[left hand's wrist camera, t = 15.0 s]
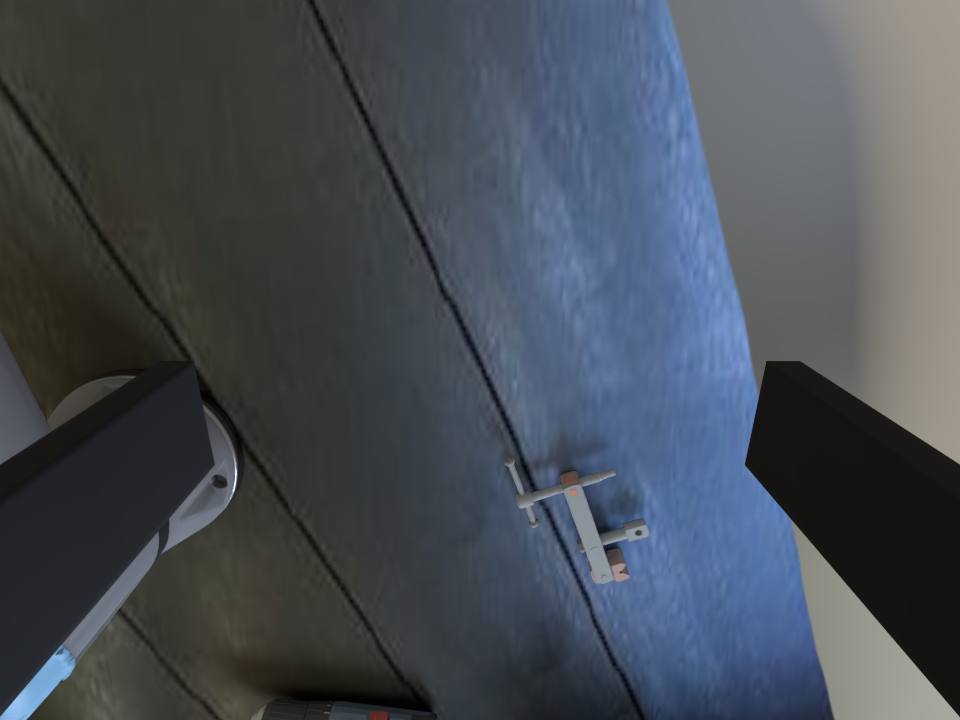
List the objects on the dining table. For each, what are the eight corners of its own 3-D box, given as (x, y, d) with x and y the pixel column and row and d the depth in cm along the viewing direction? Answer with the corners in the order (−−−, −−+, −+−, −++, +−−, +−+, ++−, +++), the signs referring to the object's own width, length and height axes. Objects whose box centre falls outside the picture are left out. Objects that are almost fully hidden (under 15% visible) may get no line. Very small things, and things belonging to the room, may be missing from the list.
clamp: (661, 570, 48) (555, 600, 49) (654, 553, 50) (552, 582, 51) (618, 431, 43) (501, 468, 44) (612, 418, 45) (500, 454, 46)
